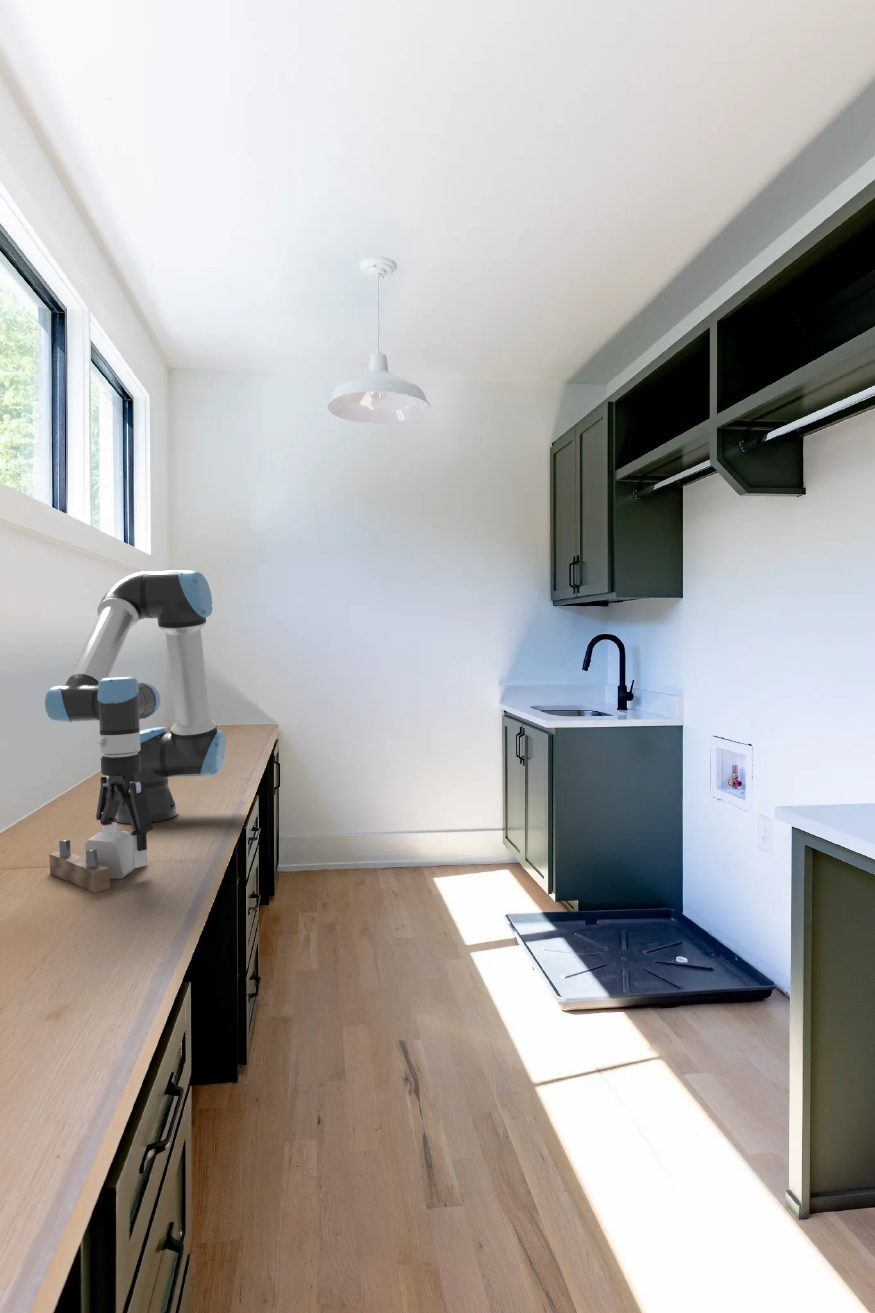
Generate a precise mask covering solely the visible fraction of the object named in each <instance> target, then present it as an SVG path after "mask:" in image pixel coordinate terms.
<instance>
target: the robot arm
mask: <svg viewBox="0 0 875 1313" xmlns="http://www.w3.org/2000/svg"><path fill="white" fill-rule="evenodd" d="M212 597H213V596H212V591H211V589H210V585H209V583H208V581H207V579H206V577H205V576H204V575H203V573H201V572H200V571H196V570H185V569H183V570H164V571H163V570H161V571H140V572H139V571H138V572H135V573H132V574H130V575H128V576H125V577H124V578H122V579H121V580H119V581H118V582H117V583H115V584H114V585H112V586H111V588H109V590H108V591H107V592H106V593H105V594H104V596H103V597H102V599H101V600H100V603H99V604H98V607H97V611H96V612H97V616H98V617H97V619H96V620H95V623H94V625H93V628H92V629H91V631H90V633H89V635H88V637H87V639H86V641H85V644H84V646H83V648H82V650H81V652H80V654H79V655H78V658H77V660H76V661H75V664H74V666H73V668H72V670H71V672H70V674H69V677H68V678H67V680H66V682H65V684H64V685H56V686H53V687H51V688H49V689H48V690H47V692H46V694H45V698H44V708H45V712H46V714H47V716H48V718H49V719H51V720H52V721H54V722H68V723H69V722H70V723H72V722H90V721H91V722H92V721H93V722H94V721H99V722H98V723H99V740H98V745H100V754H102V756H101V758H100V771H101V772H100V773H101V774H102V776H100V790H99V797H98V800H97V809H96V815H95V818H96V821H99V822H100V825H101V827H102V828H101V832H109V833H118V830H117V828H118V825H117V823H121V824H130V826H131V829H132V832H130V835H131V836H132V858H133V868H134V869H136V868H141V867H145V866H148V865H149V864H148V863H149V862H148V861H149V860H148V840H147V839H148V838H147V834H148V833H149V832H151V831H153V830H154V826H153V823H155V822H162V821H165V820H169V819H171V818H174V817H175V816H177V804H176V802H175V800H174V797H173V795H172V791H171V789H170V787H169V786H170V785H169V778H177V777H178V778H179V777H182V778H183V777H200V778H203V777H206V776H208V777H209V776H214V775H217V774H219V772H220V771H221V768H222V766H223V764H224V759H225V756H226V745H227V743H226V742H227V741H226V740H227V739H226V735H225V732H224V730H223V731H222V730H218V728H217V722H216V721H215V720H213V718H212V719H211V717H210V708H209V707H210V706H209V697H208V689H207V688H208V687H207V676H206V668H205V658H204V647H203V636H202V629H203V627H204V626H205V625H206V624H207V618H208V617H210V616H211V614H212V613H213V598H212ZM144 619H157V626H158V628H160V630H162V631H163V632H164V633H165V639H166V641H165V642H166V648H167V649H166V650H167V657H168V667H169V674H170V683H171V692H172V700H173V710H174V720H175V722H174V723H173V725H172V726H171V727H170V732H168V730H167V727H165V726H161V727H160V726H159V727H151V728H144V729H140V720H142V719H143V720H145V719H147V718H149V717H150V716H152V715H153V714H155V713H156V712H157V711H158V710H159V707H160V705H161V696H160V693H159V690H158V689H157V688H156V687H155V686H154V685H152V684H150V683H144V682H138V680H137V678H135V677H134V676H115V677H110V675H111V673H112V670H113V668H114V666H115V663H116V661H117V660H118V656H119V655H120V652H121V650H122V647H123V646H124V642H125V641H126V638H127V636H128V634H129V631H130V630H131V629H133V628H135V627H136V625H138V622H139V621H140V620H144Z"/></svg>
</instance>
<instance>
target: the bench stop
mask: <svg viewBox="0 0 875 1313" xmlns="http://www.w3.org/2000/svg"><path fill="white" fill-rule="evenodd" d="M58 845H59V851H57V852H52V853H48V854H49V873H50V875H53V876H55V877H57V878H60V879H61V880H64V881H67V882H68V883H71V884H73V885H76V886H77V887H80V888H82V889H85V888H86V889H85V890H87V891H89V890H90V891H89V892H91V893H94V894H95V893H99V892H103V890H104V891H106V890H110V889H111V880H110V879H111V878H110V872H109V868H108V867H106V866H103V865H101V864H98V861H97V849H89V850H86V849H85V857H82V856H79V855H77V854H74V853H71V839H61V840H58ZM109 888H110V889H109Z"/></svg>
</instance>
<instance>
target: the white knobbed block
mask: <svg viewBox="0 0 875 1313" xmlns="http://www.w3.org/2000/svg"><path fill="white" fill-rule="evenodd" d="M84 847H85V851H86V850H89V849H97V861H98V864H101V865H103V866H106V867H108V868H109V872H110V879H114V878H119V879H118V880H121V879H123V878H124V877H126V876H127V875H129V874H130V873H131V872H132V871H134V870H135V868H133V858H132V836H131V833H130V832H129V831H127V830H120V831H117V833H109V832H102V831H100V832H97V833H96V834H95V835H92V837H90V838H88V839H87V840H86V841H85V842H84Z"/></svg>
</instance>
